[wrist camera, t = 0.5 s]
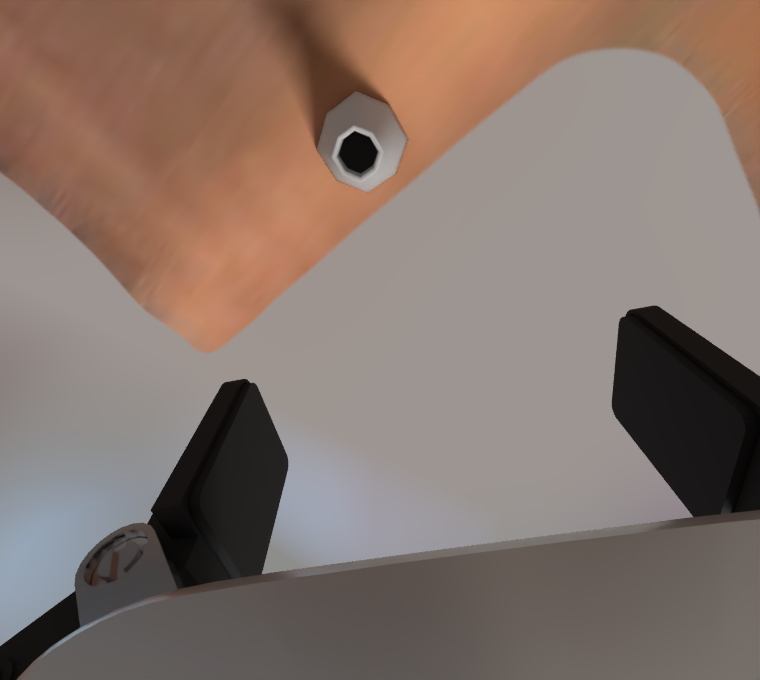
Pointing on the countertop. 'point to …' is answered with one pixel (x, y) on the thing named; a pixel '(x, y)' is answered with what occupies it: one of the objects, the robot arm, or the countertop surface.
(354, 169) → the flask
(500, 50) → the countertop surface
